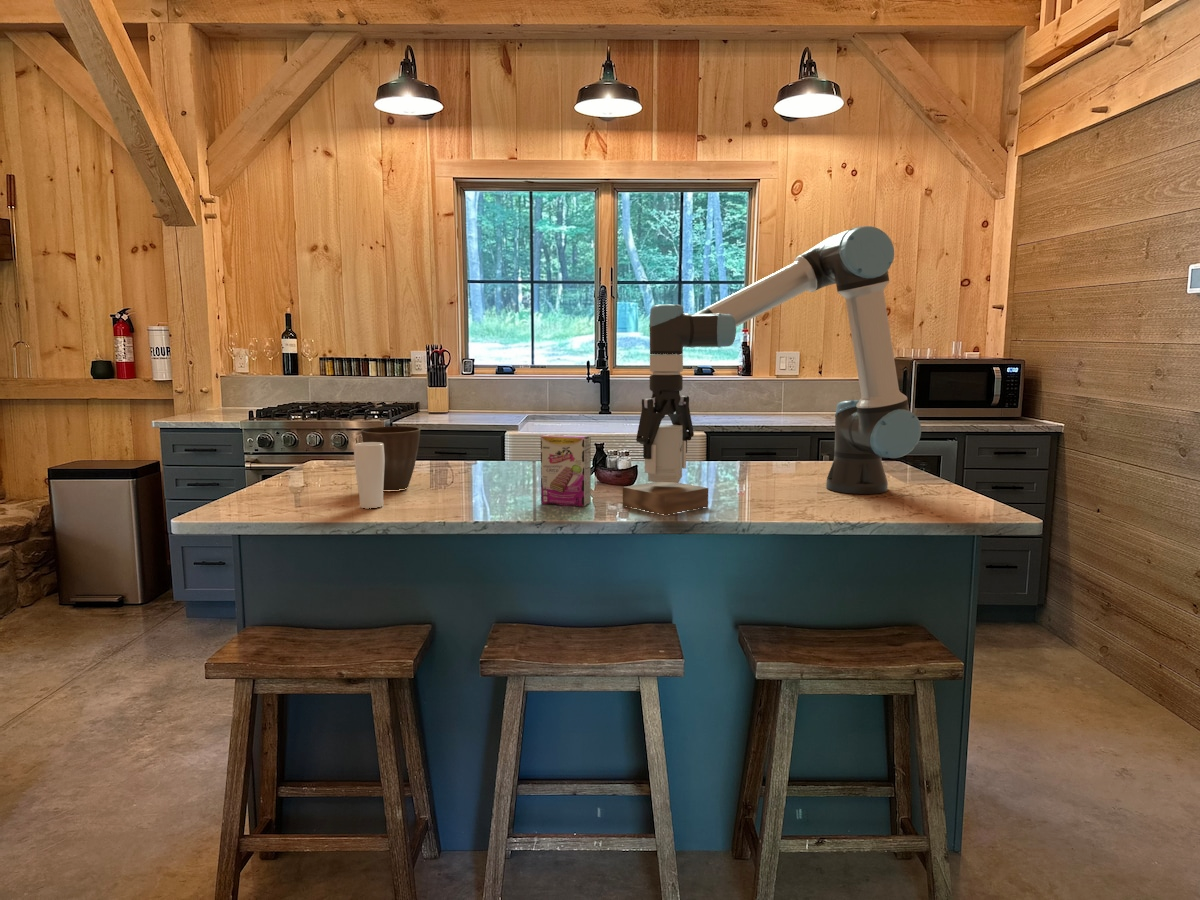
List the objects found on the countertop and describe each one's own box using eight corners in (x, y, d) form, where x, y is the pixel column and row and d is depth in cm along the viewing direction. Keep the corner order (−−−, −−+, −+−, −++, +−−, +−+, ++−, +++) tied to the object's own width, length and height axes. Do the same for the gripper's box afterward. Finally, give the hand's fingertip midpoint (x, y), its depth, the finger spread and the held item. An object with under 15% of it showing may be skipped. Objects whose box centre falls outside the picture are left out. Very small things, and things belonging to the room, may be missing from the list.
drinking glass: (359, 511, 179) (356, 446, 177) (354, 506, 184) (351, 443, 182) (389, 508, 182) (386, 444, 180) (383, 503, 188) (380, 441, 186)
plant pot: (434, 487, 208) (432, 428, 206) (391, 497, 195) (389, 433, 193) (394, 482, 216) (392, 425, 214) (351, 491, 203) (348, 430, 201)
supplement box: (679, 483, 177) (680, 427, 175) (647, 482, 178) (647, 426, 177) (683, 477, 184) (683, 424, 182) (651, 476, 186) (651, 423, 184)
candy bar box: (540, 504, 186) (539, 435, 183) (548, 500, 190) (547, 433, 188) (584, 507, 182) (583, 437, 180) (591, 503, 187) (591, 435, 184)
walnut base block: (708, 509, 181) (708, 488, 181) (665, 517, 172) (665, 495, 172) (664, 500, 192) (665, 480, 191) (622, 508, 183) (622, 487, 182)
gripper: (685, 371, 188) (684, 463, 191) (619, 374, 173) (619, 474, 176) (710, 372, 183) (709, 466, 186) (644, 375, 168) (644, 478, 171)
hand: (665, 470), depth 181 cm, fingers closed on supplement box, 10 cm apart
